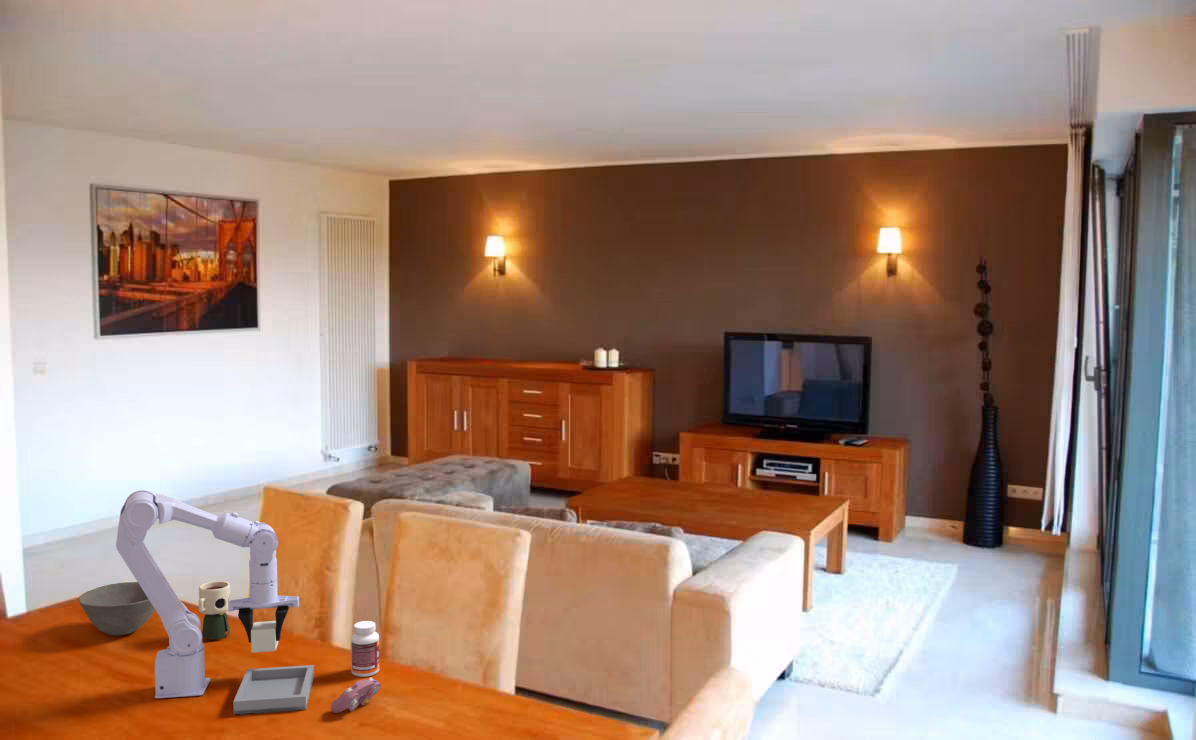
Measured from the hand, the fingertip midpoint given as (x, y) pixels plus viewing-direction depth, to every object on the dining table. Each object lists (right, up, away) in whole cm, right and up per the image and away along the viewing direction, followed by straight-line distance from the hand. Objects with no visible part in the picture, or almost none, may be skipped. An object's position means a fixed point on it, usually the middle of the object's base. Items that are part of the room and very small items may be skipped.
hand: (264, 640), depth 206 cm
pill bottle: (+21, -9, +4) cm, 23 cm away
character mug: (-20, -6, +23) cm, 32 cm away
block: (0, -2, 0) cm, 2 cm away
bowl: (-44, -6, +26) cm, 52 cm away
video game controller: (+24, -10, -13) cm, 29 cm away
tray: (+5, -9, -8) cm, 13 cm away
